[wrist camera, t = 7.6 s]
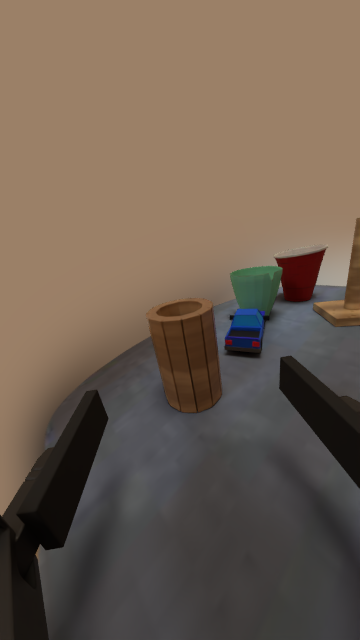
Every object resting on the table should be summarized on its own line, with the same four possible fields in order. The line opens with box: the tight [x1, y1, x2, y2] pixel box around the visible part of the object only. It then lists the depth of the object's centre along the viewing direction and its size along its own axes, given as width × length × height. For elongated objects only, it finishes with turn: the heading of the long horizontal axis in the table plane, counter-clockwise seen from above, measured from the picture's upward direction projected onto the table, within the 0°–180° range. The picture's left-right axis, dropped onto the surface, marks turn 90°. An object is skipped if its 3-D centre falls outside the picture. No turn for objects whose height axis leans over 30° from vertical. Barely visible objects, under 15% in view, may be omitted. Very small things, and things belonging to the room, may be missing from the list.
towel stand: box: [313, 218, 360, 327], centre depth 32 cm, size 9×9×16 cm
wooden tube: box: [146, 298, 222, 413], centre depth 22 cm, size 7×7×11 cm
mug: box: [230, 266, 282, 315], centre depth 42 cm, size 15×10×10 cm
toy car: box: [225, 309, 269, 353], centre depth 33 cm, size 7×12×5 cm, turn 154°
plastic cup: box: [274, 245, 328, 302], centre depth 46 cm, size 11×11×12 cm
